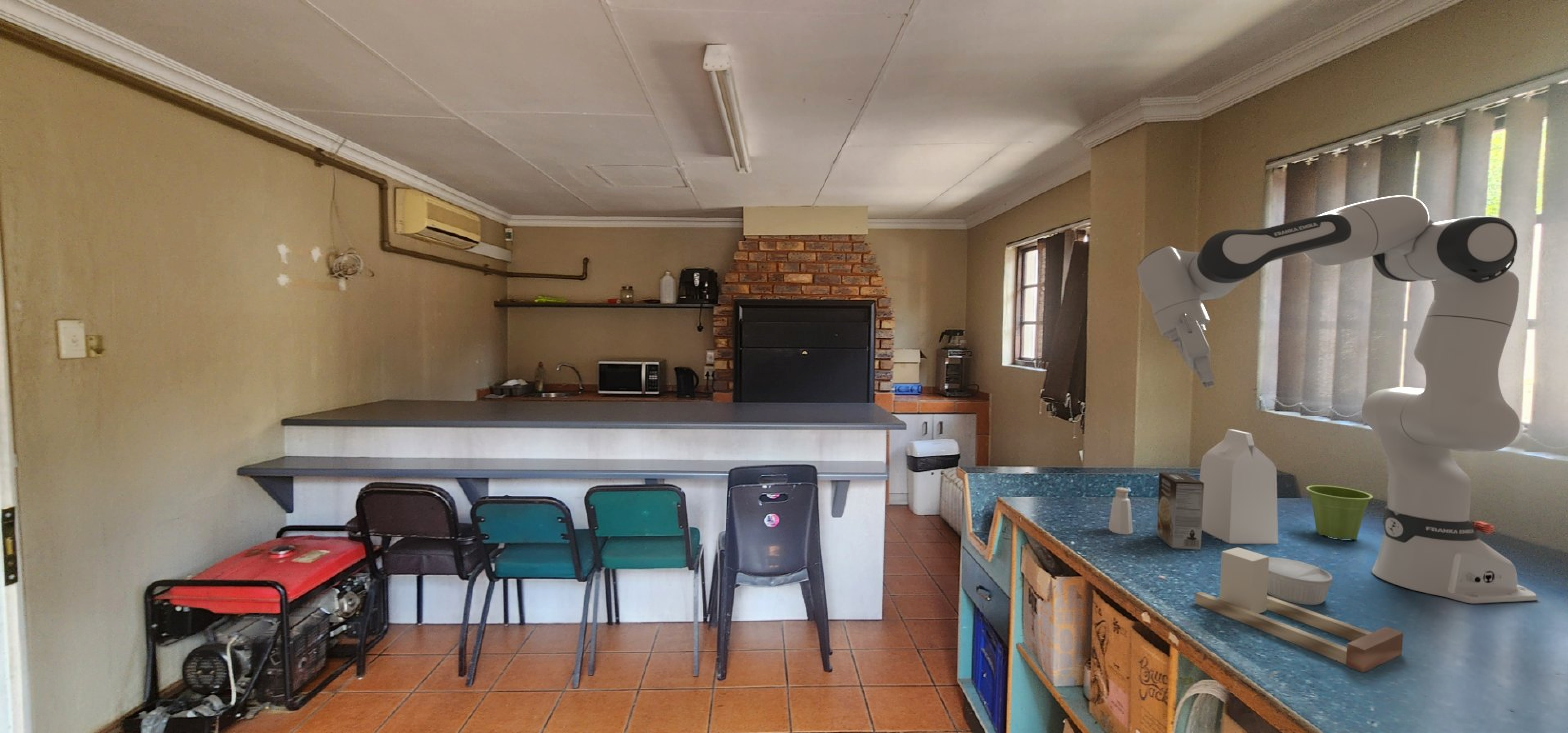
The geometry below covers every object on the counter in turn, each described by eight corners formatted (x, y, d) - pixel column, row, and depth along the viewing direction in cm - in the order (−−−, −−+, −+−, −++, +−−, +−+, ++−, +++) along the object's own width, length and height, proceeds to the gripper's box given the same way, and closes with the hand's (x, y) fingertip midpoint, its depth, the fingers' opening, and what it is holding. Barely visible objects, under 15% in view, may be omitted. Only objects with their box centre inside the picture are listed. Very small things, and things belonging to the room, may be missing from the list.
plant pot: (1292, 527, 150) (1294, 484, 149) (1343, 529, 148) (1346, 486, 148) (1328, 544, 138) (1330, 497, 138) (1384, 546, 137) (1387, 499, 136)
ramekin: (1338, 614, 104) (1340, 585, 104) (1259, 599, 110) (1260, 572, 110) (1322, 590, 114) (1324, 564, 114) (1250, 578, 120) (1251, 553, 119)
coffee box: (1155, 535, 145) (1157, 471, 144) (1184, 536, 143) (1186, 472, 142) (1172, 548, 136) (1174, 480, 135) (1202, 550, 134) (1205, 482, 133)
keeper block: (1219, 604, 107) (1221, 551, 107) (1235, 599, 109) (1237, 547, 109) (1250, 616, 103) (1252, 561, 102) (1266, 610, 105) (1269, 556, 104)
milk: (1278, 543, 139) (1283, 435, 137) (1229, 543, 139) (1234, 435, 137) (1239, 526, 151) (1243, 427, 149) (1194, 526, 151) (1198, 427, 149)
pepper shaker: (1133, 530, 148) (1134, 487, 148) (1132, 536, 144) (1134, 492, 143) (1109, 526, 151) (1110, 484, 151) (1107, 532, 147) (1108, 489, 146)
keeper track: (1193, 604, 108) (1194, 585, 108) (1231, 592, 113) (1232, 574, 113) (1363, 673, 86) (1364, 650, 86) (1401, 654, 91) (1403, 632, 91)
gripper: (1200, 304, 111) (1230, 372, 107) (1199, 325, 127) (1226, 384, 123) (1162, 316, 114) (1191, 383, 110) (1167, 335, 131) (1192, 393, 126)
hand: (1209, 384), depth 117 cm, fingers open, 8 cm apart
